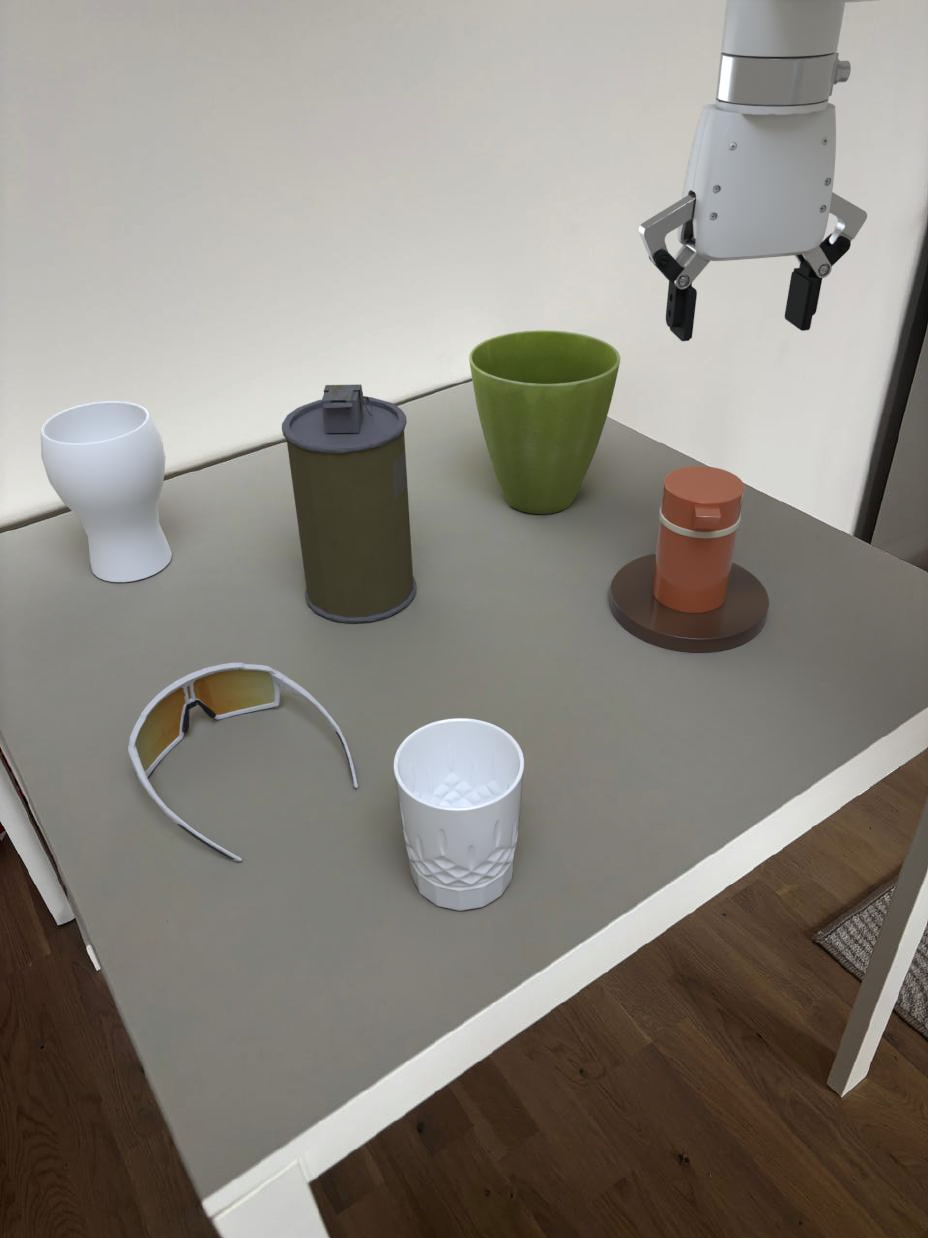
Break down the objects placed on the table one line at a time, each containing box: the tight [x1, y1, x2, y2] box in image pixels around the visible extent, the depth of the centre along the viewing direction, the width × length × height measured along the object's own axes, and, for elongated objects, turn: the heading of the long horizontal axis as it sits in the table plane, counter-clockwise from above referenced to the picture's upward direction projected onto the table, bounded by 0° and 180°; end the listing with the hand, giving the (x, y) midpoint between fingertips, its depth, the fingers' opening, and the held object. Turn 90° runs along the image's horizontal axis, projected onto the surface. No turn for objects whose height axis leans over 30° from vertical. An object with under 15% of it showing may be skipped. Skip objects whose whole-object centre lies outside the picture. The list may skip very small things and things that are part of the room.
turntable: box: [609, 553, 770, 654], centre depth 88 cm, size 14×14×2 cm
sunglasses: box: [127, 662, 359, 862], centre depth 71 cm, size 14×15×5 cm
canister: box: [281, 384, 417, 624], centre depth 86 cm, size 11×10×20 cm
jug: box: [652, 465, 745, 613], centre depth 84 cm, size 10×7×11 cm, turn 174°
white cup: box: [393, 717, 525, 912], centre depth 61 cm, size 8×8×10 cm
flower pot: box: [468, 329, 621, 515], centre depth 101 cm, size 15×15×16 cm
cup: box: [40, 400, 173, 583], centre depth 92 cm, size 11×11×15 cm
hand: (738, 330), depth 76 cm, fingers open, 9 cm apart
